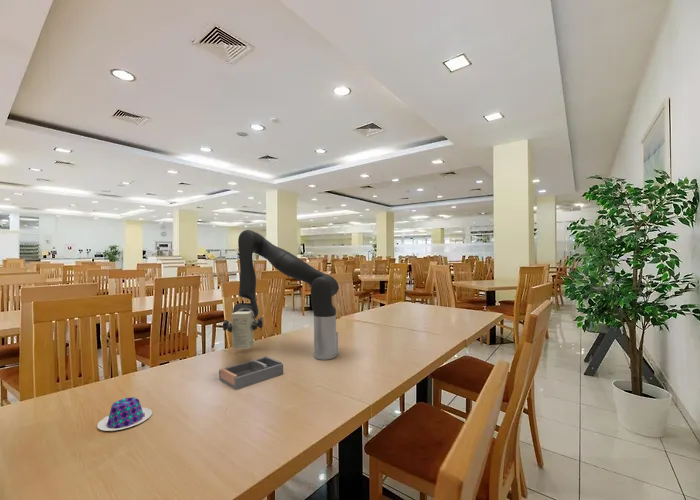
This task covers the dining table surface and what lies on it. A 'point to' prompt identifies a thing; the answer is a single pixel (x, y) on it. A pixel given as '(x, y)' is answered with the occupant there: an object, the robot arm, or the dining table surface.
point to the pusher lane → (250, 373)
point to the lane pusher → (257, 365)
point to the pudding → (124, 415)
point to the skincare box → (242, 330)
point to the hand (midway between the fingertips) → (242, 328)
